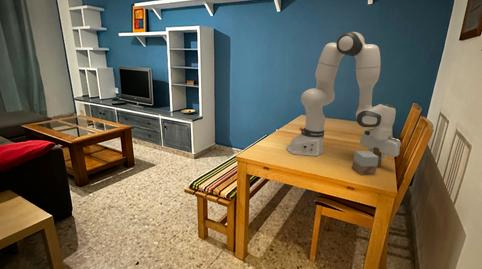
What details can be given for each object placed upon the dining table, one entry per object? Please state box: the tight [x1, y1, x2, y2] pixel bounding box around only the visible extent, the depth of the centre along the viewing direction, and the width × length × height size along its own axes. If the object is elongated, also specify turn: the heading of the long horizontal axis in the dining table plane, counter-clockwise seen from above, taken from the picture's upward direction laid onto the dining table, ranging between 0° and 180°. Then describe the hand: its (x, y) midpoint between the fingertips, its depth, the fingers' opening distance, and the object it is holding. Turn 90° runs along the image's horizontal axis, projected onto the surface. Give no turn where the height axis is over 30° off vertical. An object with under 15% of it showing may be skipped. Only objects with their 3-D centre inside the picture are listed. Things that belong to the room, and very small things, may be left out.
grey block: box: [353, 150, 379, 166], centre depth 128 cm, size 8×8×5 cm
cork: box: [372, 147, 383, 169], centre depth 136 cm, size 6×6×11 cm
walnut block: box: [351, 159, 377, 176], centre depth 129 cm, size 8×8×5 cm
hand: (376, 158), depth 137 cm, fingers closed on cork, 5 cm apart
